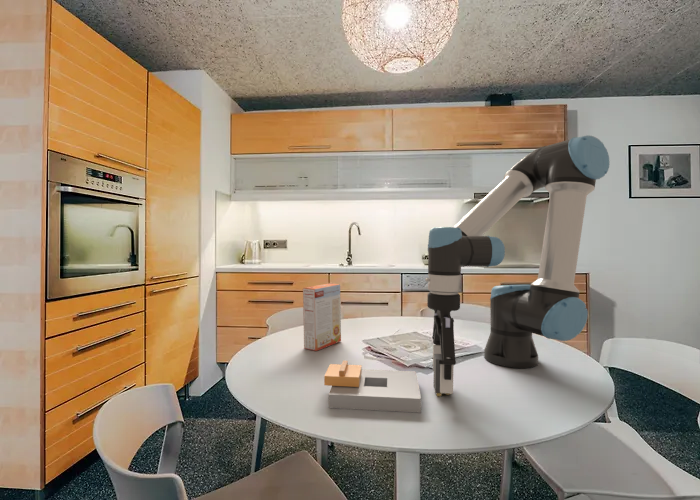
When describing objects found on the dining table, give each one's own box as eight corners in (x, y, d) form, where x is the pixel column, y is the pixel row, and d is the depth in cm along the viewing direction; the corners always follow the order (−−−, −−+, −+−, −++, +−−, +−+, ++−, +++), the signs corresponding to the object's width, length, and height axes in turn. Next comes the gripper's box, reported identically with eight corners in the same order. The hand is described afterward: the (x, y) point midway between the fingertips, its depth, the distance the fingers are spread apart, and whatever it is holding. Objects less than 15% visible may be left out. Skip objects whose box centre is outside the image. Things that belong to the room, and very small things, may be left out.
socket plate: (415, 382, 94) (415, 371, 94) (421, 412, 78) (421, 398, 78) (339, 379, 96) (338, 368, 96) (328, 407, 80) (328, 394, 80)
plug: (450, 390, 89) (450, 354, 89) (452, 398, 85) (453, 359, 85) (433, 390, 89) (433, 353, 89) (435, 397, 85) (435, 359, 85)
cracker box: (328, 339, 134) (328, 282, 134) (341, 341, 131) (341, 283, 130) (302, 348, 123) (302, 286, 122) (315, 351, 119) (315, 288, 119)
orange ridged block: (361, 373, 91) (361, 360, 91) (358, 386, 83) (358, 372, 83) (330, 372, 92) (330, 359, 92) (324, 385, 84) (324, 370, 84)
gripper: (423, 285, 99) (421, 362, 100) (433, 300, 74) (432, 403, 75) (451, 286, 98) (449, 363, 99) (471, 301, 73) (469, 405, 74)
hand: (442, 380), depth 87 cm, fingers open, 13 cm apart
